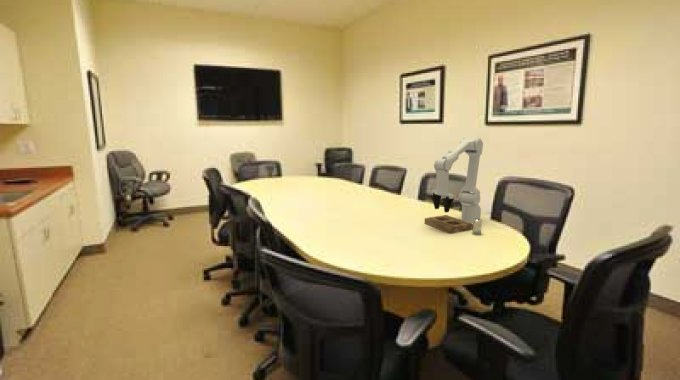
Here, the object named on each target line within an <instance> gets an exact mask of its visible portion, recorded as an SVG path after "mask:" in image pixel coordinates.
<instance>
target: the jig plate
mask: <svg viewBox="0 0 680 380" xmlns="http://www.w3.org/2000/svg"><path fill="white" fill-rule="evenodd" d="M460 219H461V218H456V217H453V216H450V215H448V214H445V215H444V214H443V215H438V216H437V215H436V216H429V217H425V218H424V224H425V225H427V226H430V227H432V228H435V229H437V230H439V231H442V232H445V233H447V234H449V235H450V234H457V233H460V232H462V233H463V232H466V231H472V227H473V223H469V222H466V221H463V220H460Z"/></svg>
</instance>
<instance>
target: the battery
mask: <svg viewBox="0 0 680 380" xmlns="http://www.w3.org/2000/svg"><path fill="white" fill-rule="evenodd" d="M482 223H483V219H481V218H480V219H478V218H475V219H473V223H472V224H473V227H472V230H471V233H472V235H474V236H480V235H482Z"/></svg>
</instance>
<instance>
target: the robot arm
mask: <svg viewBox="0 0 680 380" xmlns="http://www.w3.org/2000/svg"><path fill="white" fill-rule="evenodd" d="M483 149H484V142H483V140H482V139H481V138H480V137H479V138H478V137H477V138H475V137H474V138H472V137H471V138H470V137H463V138H461V140H459V143H458V145H457V146H456V148H454V149H453V150H452V149H451V150H448V151H447V153H445V154H444V155H443V156H442V157H440V158H437V159H436V160H435V162H434V164H433V168H434V170H435V172H434V173H435V174H436V176H435V177H436V178H435V179H436V184H435V186H436V187H435V189H432V190H431V195H430V198H431V200H432V203H433V207H434V210H439V209H440V205H441V200H442V202H443V203H442V204H443V211H444V212H443V213H450V209H451V206H452V204H453V202H454V200H455V198H454V193H450V192H449V183H450V182H449V176H450V171H451V170H452V167H453V165H454V163H456V162H457V160H459V156H460V155H461V154H462V153H465V154H466V155H467V156H468V157H469V159H468V164H467V173H466V180H465V185H464V186H463V187H462V188H460V192H459V195H458V201H459V203H460V205H461V218H459V219H460V220H463V221H466V222H469V223H472V224H473V219H475V218H478V219H481V218H482V217H481V215H482V209H481V206H480V205H479V204H480V203H481V191H480V190H479V189H478V188H477V182H478V181H477V179H478V174H479V165H480V160H481V155H482V153H483Z"/></svg>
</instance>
